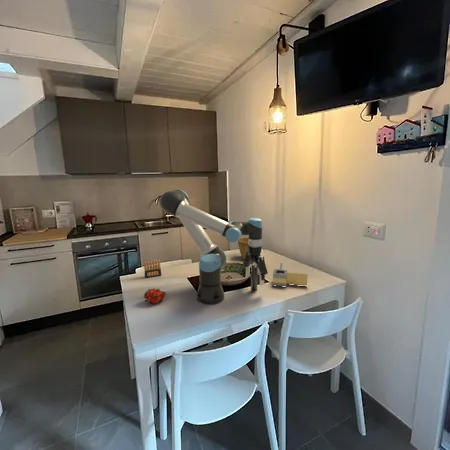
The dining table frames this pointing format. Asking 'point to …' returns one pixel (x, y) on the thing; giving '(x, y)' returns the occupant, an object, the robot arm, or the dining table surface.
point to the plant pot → (243, 246)
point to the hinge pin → (254, 277)
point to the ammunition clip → (152, 269)
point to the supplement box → (258, 261)
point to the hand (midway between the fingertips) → (254, 280)
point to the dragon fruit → (154, 295)
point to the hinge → (288, 277)
